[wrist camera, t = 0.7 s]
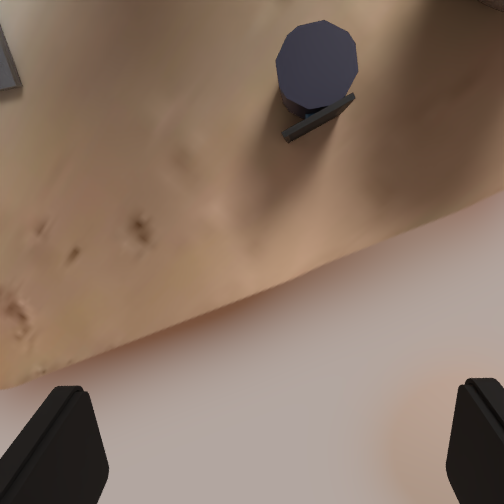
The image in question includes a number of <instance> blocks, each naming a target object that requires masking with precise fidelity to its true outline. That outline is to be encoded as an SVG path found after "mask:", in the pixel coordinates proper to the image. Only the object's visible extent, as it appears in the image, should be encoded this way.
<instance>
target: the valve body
mask: <svg viewBox="0 0 504 504" xmlns="http://www.w3.org/2000/svg"><path fill="white" fill-rule="evenodd" d="M21 86H22V83H21V80H20V77H19V75H18V72H17V69H16V66H15V64H14V61H13V58H12V55H11V53H10V50H9V47H8V44H7V42H6V39H5V36H4V33H3V31H2V28H1V25H0V91H2V90H7V89H12V88H16V87H21Z"/></svg>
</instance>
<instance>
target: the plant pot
mask: <svg viewBox="0 0 504 504" xmlns="http://www.w3.org/2000/svg"><path fill="white" fill-rule="evenodd" d="M478 1H480V2H482V3H483V4H485V5H487V6H490V7H492V8H494V9H496V10H499V11H502V12H504V0H478Z"/></svg>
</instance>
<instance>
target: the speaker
mask: <svg viewBox="0 0 504 504" xmlns="http://www.w3.org/2000/svg"><path fill="white" fill-rule="evenodd" d="M276 68H277V75H278V82H279V88H280V92H281V96H282V100H283V104H284V105H285V107H286V108H287V109H288V111H289V112H291V113H293V114H295V115H297V116H299V117H301V118H303V119H304V120H303V121H301V122H299V123H297V124H296V125H294V126H292V127H290V128H288V129H287V130H285V131H283V132H281V133H282V135H283V137H284V138H285V140H286V141H287V142H288V143H290V142H291V141H293V140H295V139H297V138H299V137H301V136H302V135H304V134H306V133H308V132H310V131H311V130H313V129H315V128H317V127H319V126H321V125H322V124H324V123H326V122H328V121H330V120H332V119H333V118H335V117H337V116H339V115H340V114H341V113H342V112H343V111H344V110H345V109H346V108H347V107H348V106H349V105H350V104H351V102H352V101H353V100H354V99H355V96H354V93H351V94H349V95H347V96H346V94H347V92H348V90H349V88H350V86H351V84H352V82H353V80H354V78H355V76H356V75H357V73H358V64H357V54H356V44H355V42H354V40H353V39H352V37H351V36H350V34H349V33H348V32H347V31H345V30H343V29H341V28H339V27H337V26H335V25H333V24H331V23H329V22H327V21H325V20H322V21H318V22H313V23H309V24H305V25H300V26H297V27H296V28H295V29H294V30H293V31H292V32H290V33H289V34H288V35H287V37H286V39H285V41H284V43H283V45H282V48H281V50H280V52H279V54H278V56H277V58H276ZM345 96H346V97H345Z"/></svg>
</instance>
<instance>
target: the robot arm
mask: <svg viewBox="0 0 504 504" xmlns="http://www.w3.org/2000/svg"><path fill="white" fill-rule="evenodd" d="M446 471H447V476H448V479H449V481H450V484H451V486H452V488H453V490H454V492H455V495H456V497H457V499H458V501H459V503H460V504H504V388H503V387H502V386H501V384H500V383H499V382H498V381H497V380H496V379H494V378H469V379H467V380H466V382H465V385H460V386H459V388H458V393H457V399H456V405H455V411H454V417H453V424H452V430H451V436H450V442H449V448H448V454H447V460H446ZM108 473H109V465H108V461H107V457H106V454H105V450H104V447H103V443H102V439H101V436H100V432H99V428H98V425H97V421H96V417H95V414H94V410H93V406H92V403H91V399H90V396H89V393H88V392H85V391H83V388H82V387H81V386H57V387H55V388H54V389H53V390H52V391H51V393H50V394H49V395H48V397H47V398H46V399H45V401H44V402H43V403H42V405H41V406H40V407H39V409H38V410H37V411H36V413H35V414H34V415H33V417H32V418H31V419H30V421H29V422H28V423H27V424H26V426H25V427H24V428H23V430H22V431H21V432H20V434H19V435H18V436H17V438H16V439H15V440H14V441H13V443H12V444H11V446H10V447H9V448H8V449H7V451H6V452H5V453H4V455H3V456H2V457H1V459H0V504H97V502H98V500H99V498H100V496H101V493H102V490H103V488H104V486H105V484H106V481H107V479H108Z"/></svg>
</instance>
